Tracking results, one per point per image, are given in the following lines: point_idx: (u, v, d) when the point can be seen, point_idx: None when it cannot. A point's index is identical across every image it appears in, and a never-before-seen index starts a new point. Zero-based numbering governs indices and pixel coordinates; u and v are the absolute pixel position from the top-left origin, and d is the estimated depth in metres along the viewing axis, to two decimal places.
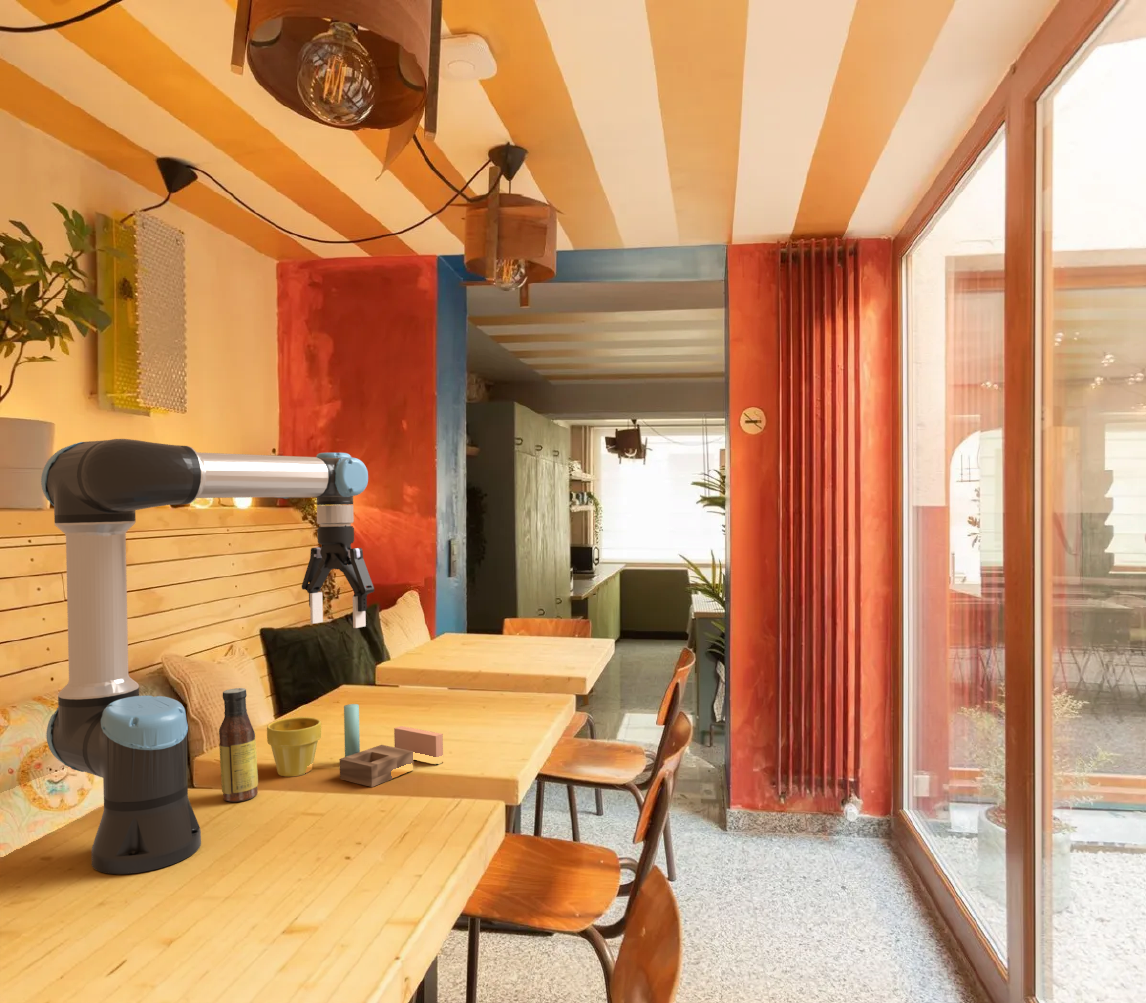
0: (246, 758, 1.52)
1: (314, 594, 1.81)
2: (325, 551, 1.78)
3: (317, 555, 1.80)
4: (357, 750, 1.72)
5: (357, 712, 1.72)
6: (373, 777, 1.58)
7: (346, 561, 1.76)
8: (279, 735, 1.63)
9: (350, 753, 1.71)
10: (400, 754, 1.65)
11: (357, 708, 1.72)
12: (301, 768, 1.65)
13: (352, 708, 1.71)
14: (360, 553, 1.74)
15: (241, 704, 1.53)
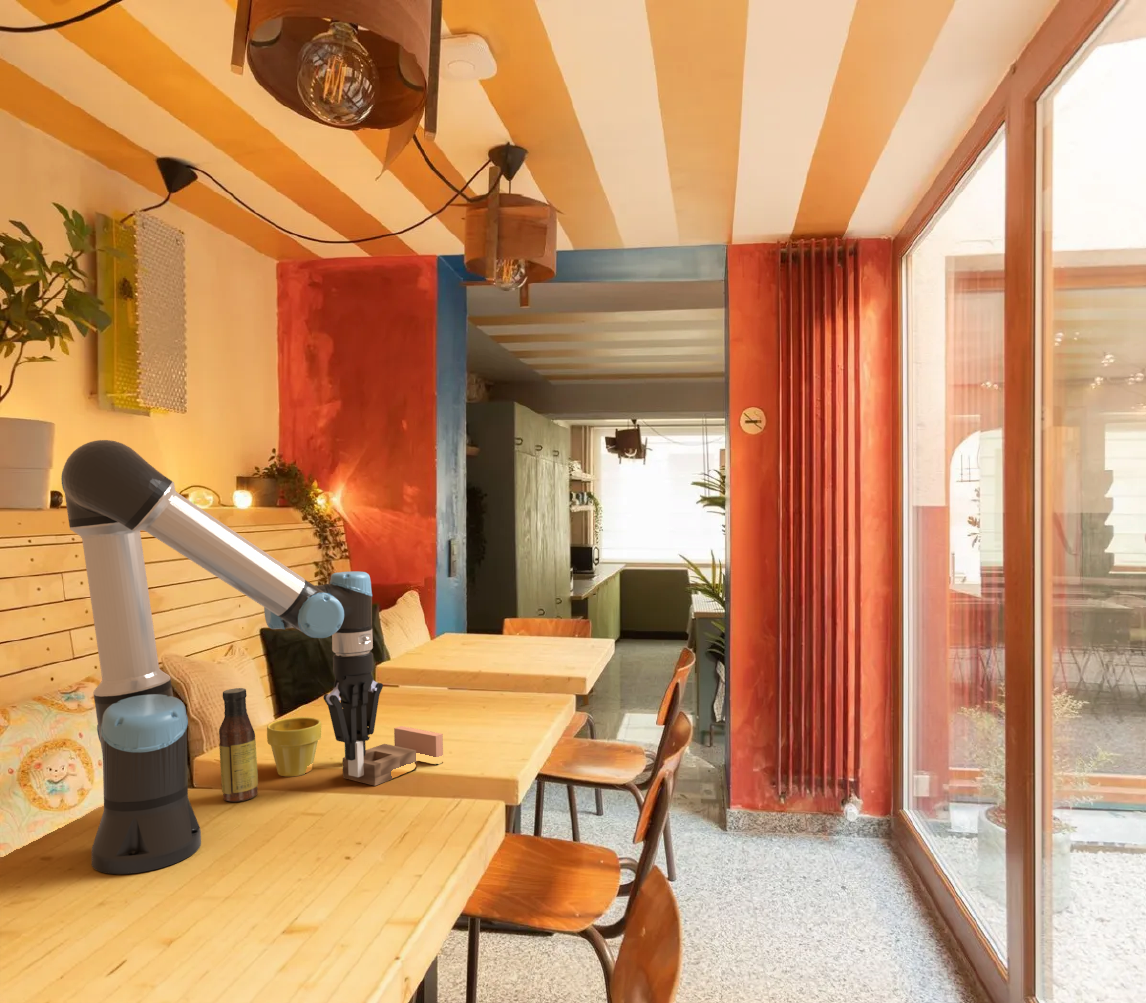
0: (246, 759, 1.52)
1: None
2: None
3: None
4: None
5: None
6: (376, 776, 1.59)
7: None
8: (279, 735, 1.63)
9: None
10: (403, 753, 1.65)
11: None
12: (301, 768, 1.65)
13: None
14: (331, 702, 1.55)
15: (241, 704, 1.53)
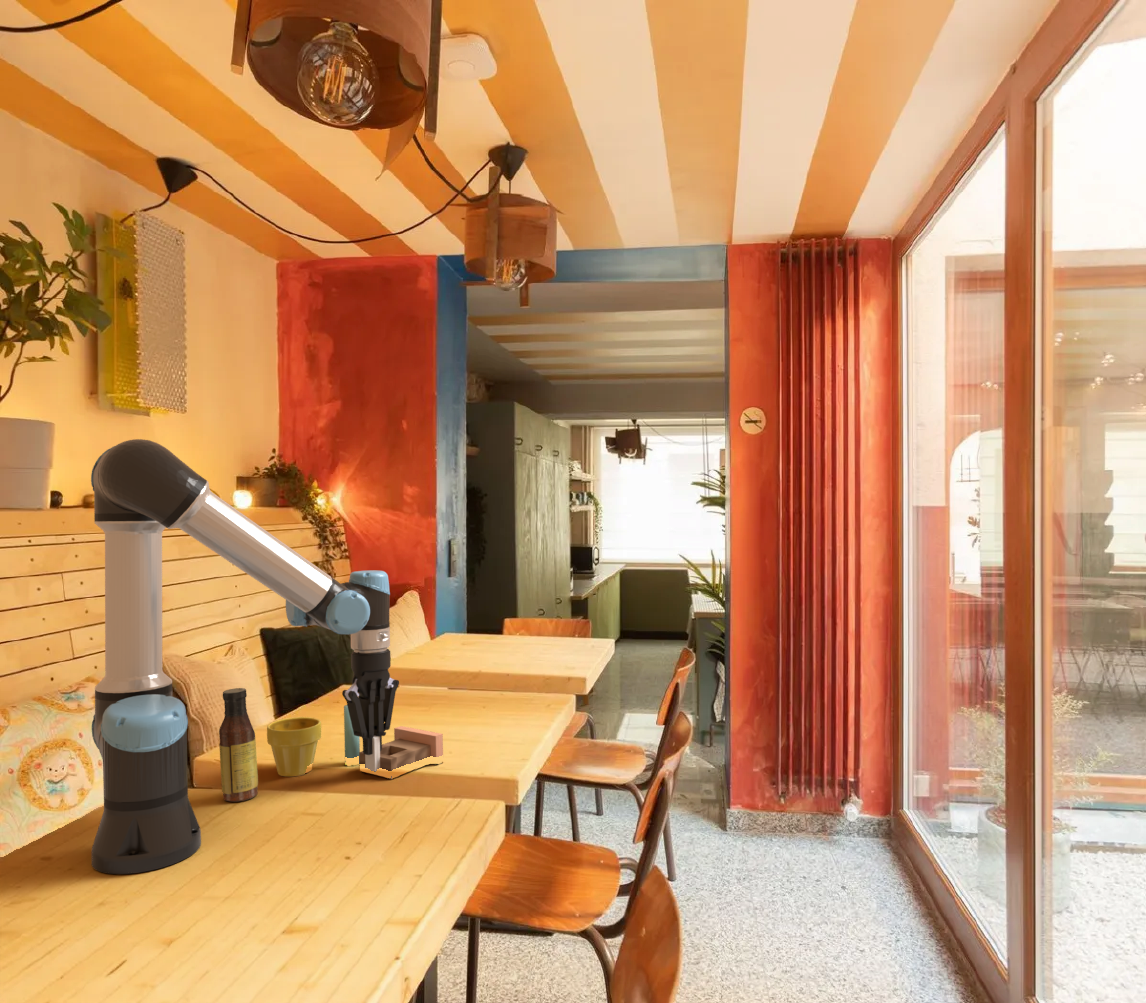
0: (246, 758, 1.52)
1: None
2: None
3: (385, 684, 1.68)
4: (357, 750, 1.72)
5: None
6: None
7: None
8: (279, 735, 1.63)
9: (350, 753, 1.71)
10: (418, 748, 1.69)
11: None
12: (301, 768, 1.65)
13: None
14: (350, 698, 1.58)
15: (241, 704, 1.53)
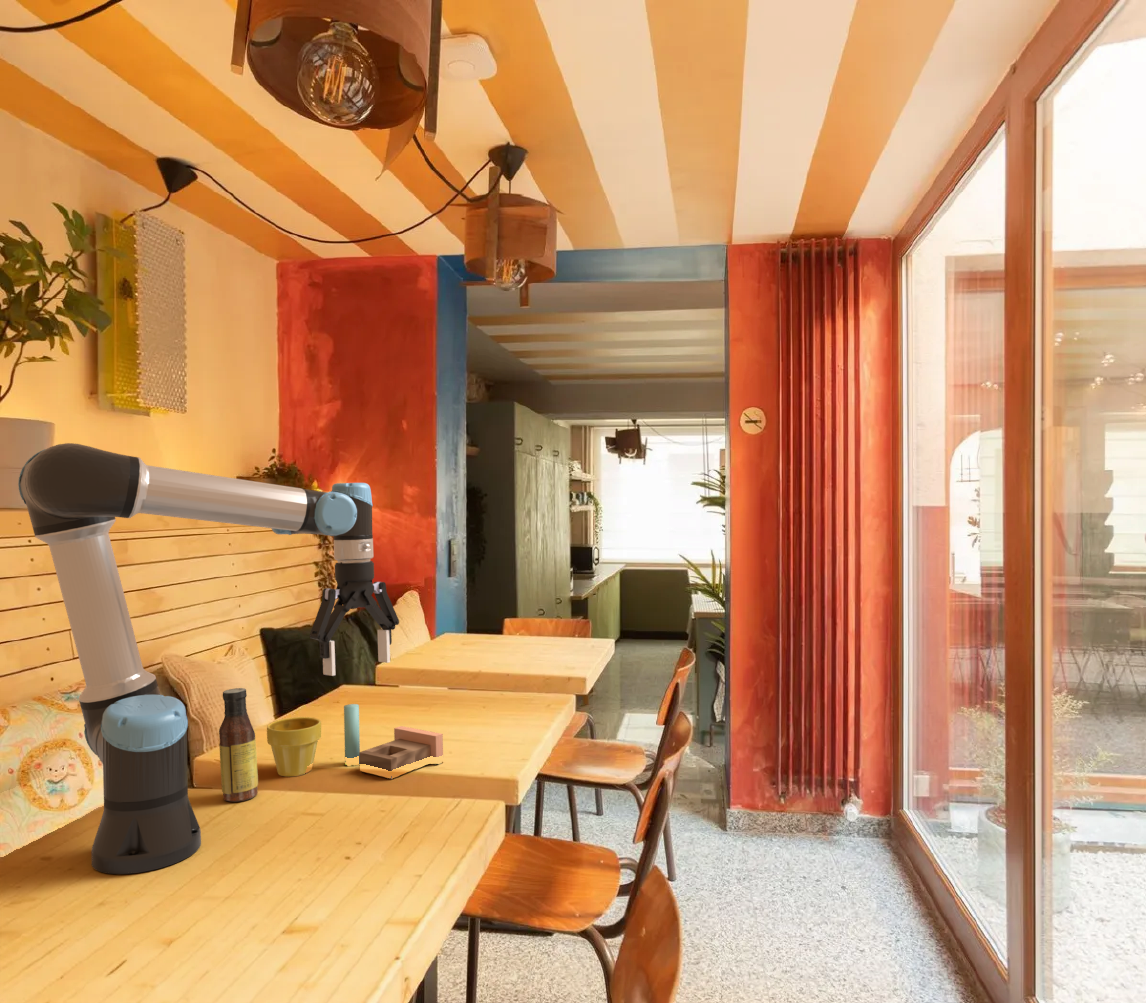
0: (246, 759, 1.52)
1: (379, 631, 1.70)
2: None
3: (373, 590, 1.69)
4: (357, 750, 1.71)
5: (357, 712, 1.72)
6: None
7: (343, 601, 1.62)
8: (279, 735, 1.63)
9: (350, 753, 1.71)
10: (418, 748, 1.69)
11: (357, 708, 1.72)
12: (301, 768, 1.65)
13: (352, 708, 1.71)
14: (328, 595, 1.59)
15: (241, 704, 1.53)
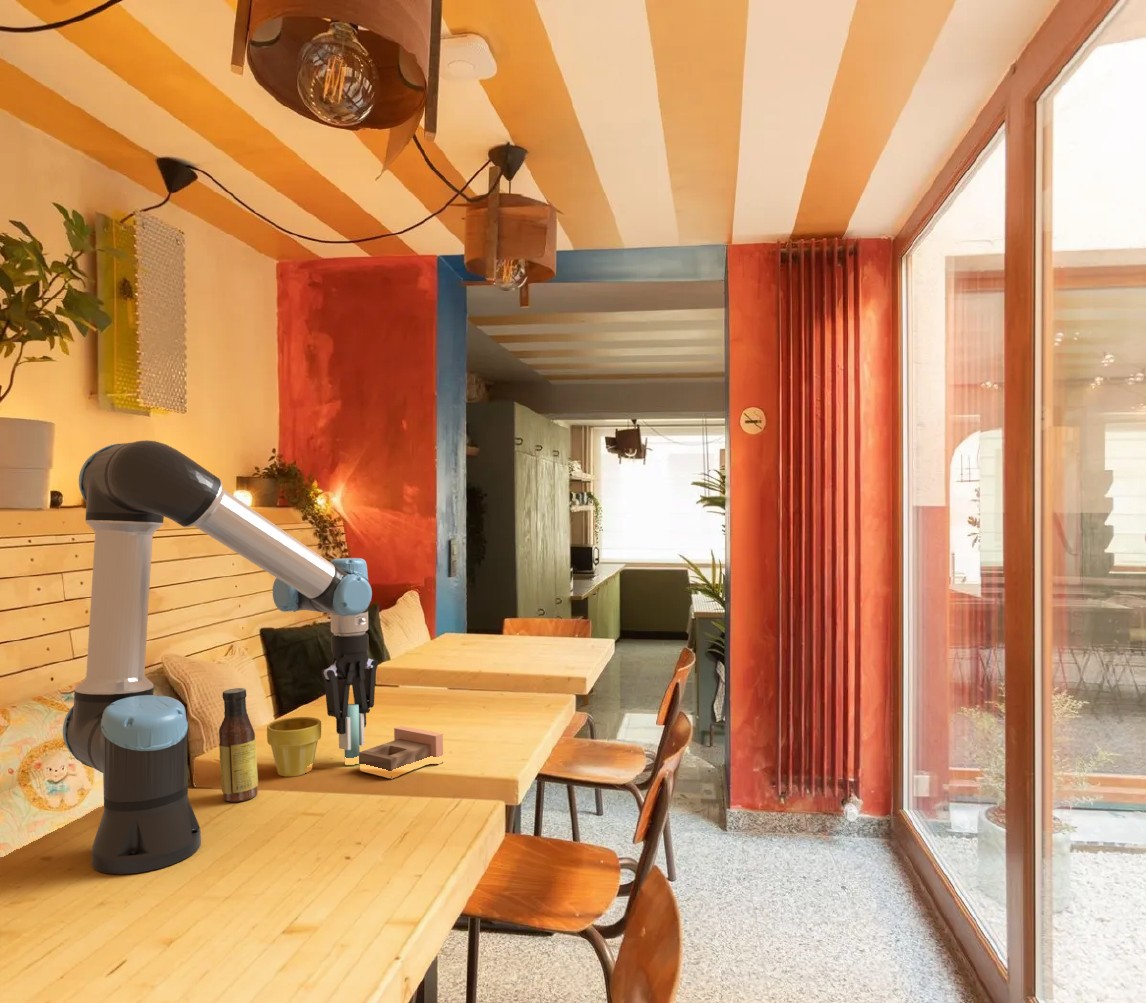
0: (245, 759, 1.52)
1: None
2: None
3: None
4: (357, 750, 1.71)
5: (357, 712, 1.72)
6: None
7: None
8: (279, 735, 1.63)
9: (350, 753, 1.71)
10: (418, 748, 1.69)
11: (357, 708, 1.72)
12: (301, 768, 1.65)
13: (352, 708, 1.71)
14: (328, 677, 1.67)
15: (240, 704, 1.53)
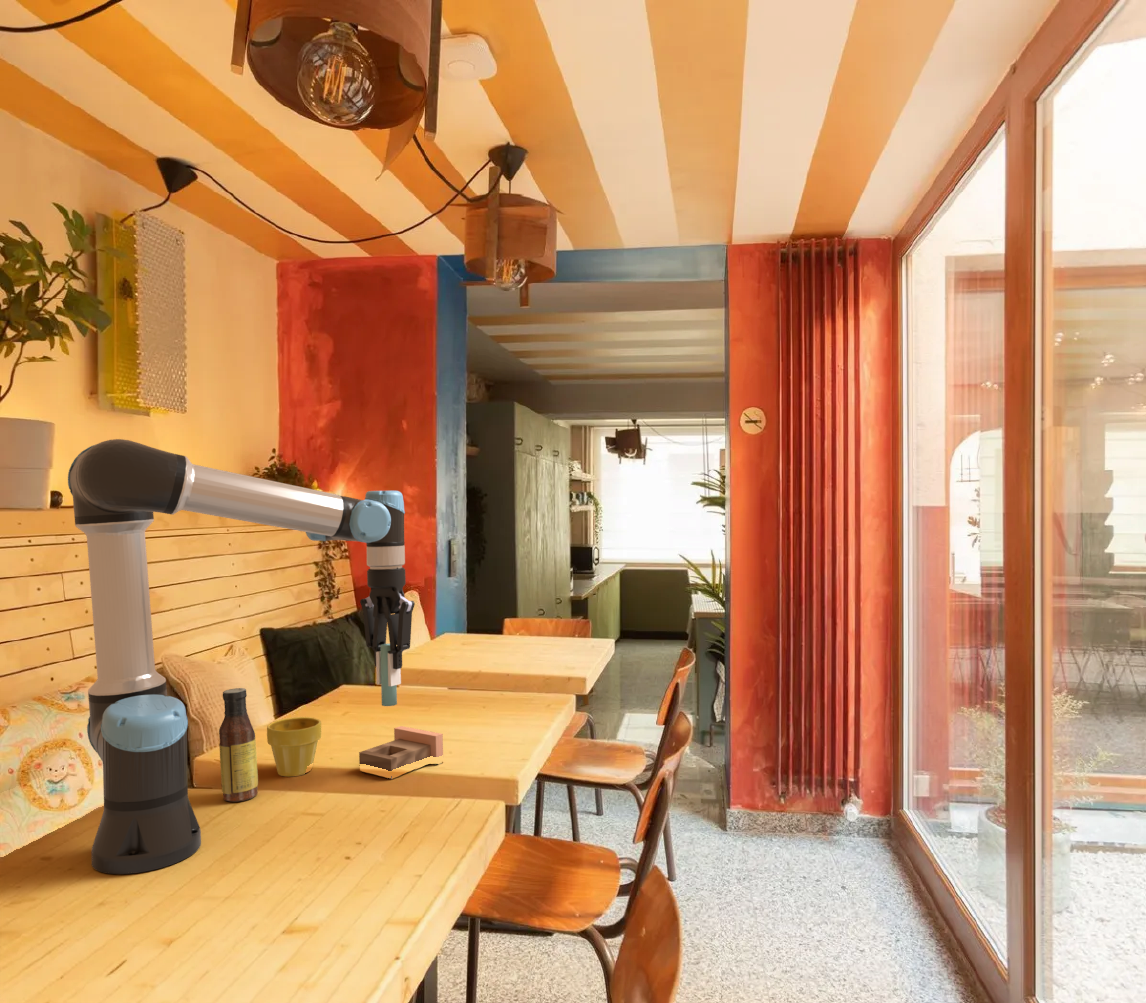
0: (246, 759, 1.52)
1: (380, 653, 1.68)
2: (374, 592, 1.68)
3: (368, 604, 1.69)
4: None
5: None
6: None
7: None
8: (279, 735, 1.63)
9: (396, 691, 1.68)
10: (418, 748, 1.69)
11: None
12: (301, 768, 1.65)
13: None
14: (411, 608, 1.65)
15: (241, 704, 1.53)
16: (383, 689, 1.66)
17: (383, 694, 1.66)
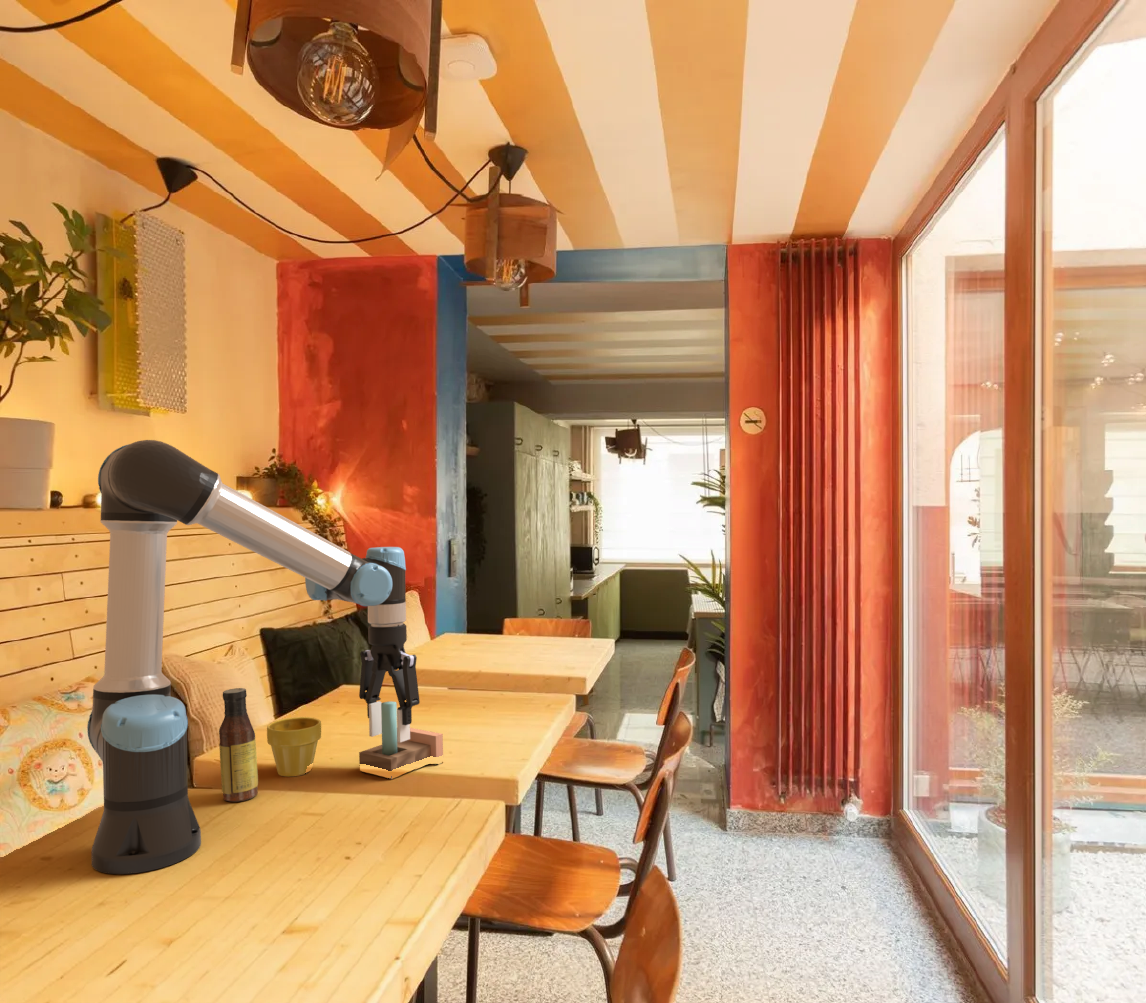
0: (246, 759, 1.52)
1: (373, 705, 1.69)
2: (375, 649, 1.68)
3: (368, 657, 1.70)
4: None
5: None
6: None
7: None
8: (279, 735, 1.63)
9: None
10: (418, 748, 1.69)
11: None
12: (301, 768, 1.65)
13: None
14: (413, 662, 1.64)
15: (241, 704, 1.53)
16: (384, 748, 1.66)
17: (384, 753, 1.66)
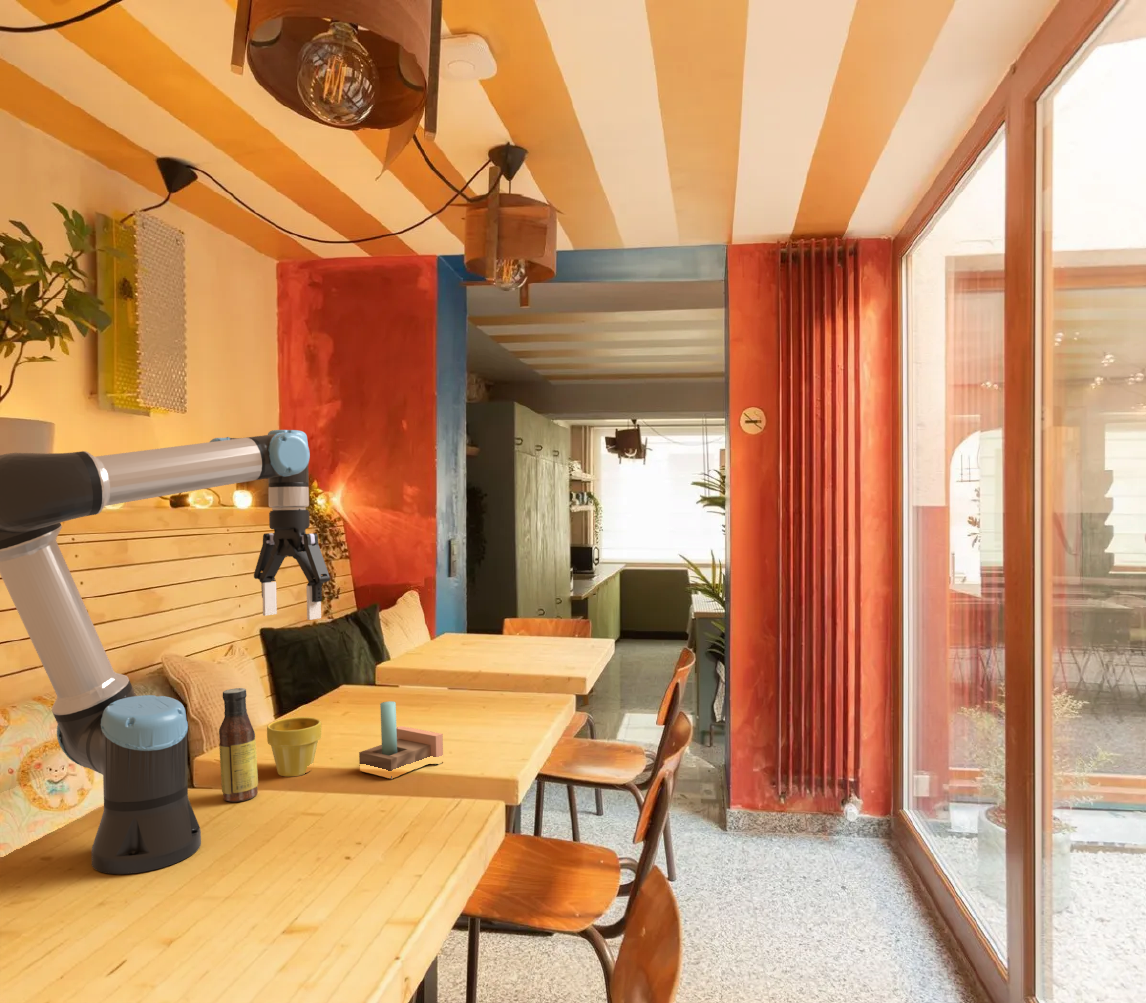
0: (245, 759, 1.52)
1: (267, 584, 1.67)
2: (278, 537, 1.64)
3: (270, 541, 1.66)
4: None
5: None
6: None
7: (300, 548, 1.62)
8: (279, 735, 1.63)
9: None
10: (418, 748, 1.69)
11: None
12: (301, 768, 1.65)
13: None
14: (315, 539, 1.61)
15: (241, 704, 1.53)
16: (383, 748, 1.66)
17: (383, 753, 1.66)
